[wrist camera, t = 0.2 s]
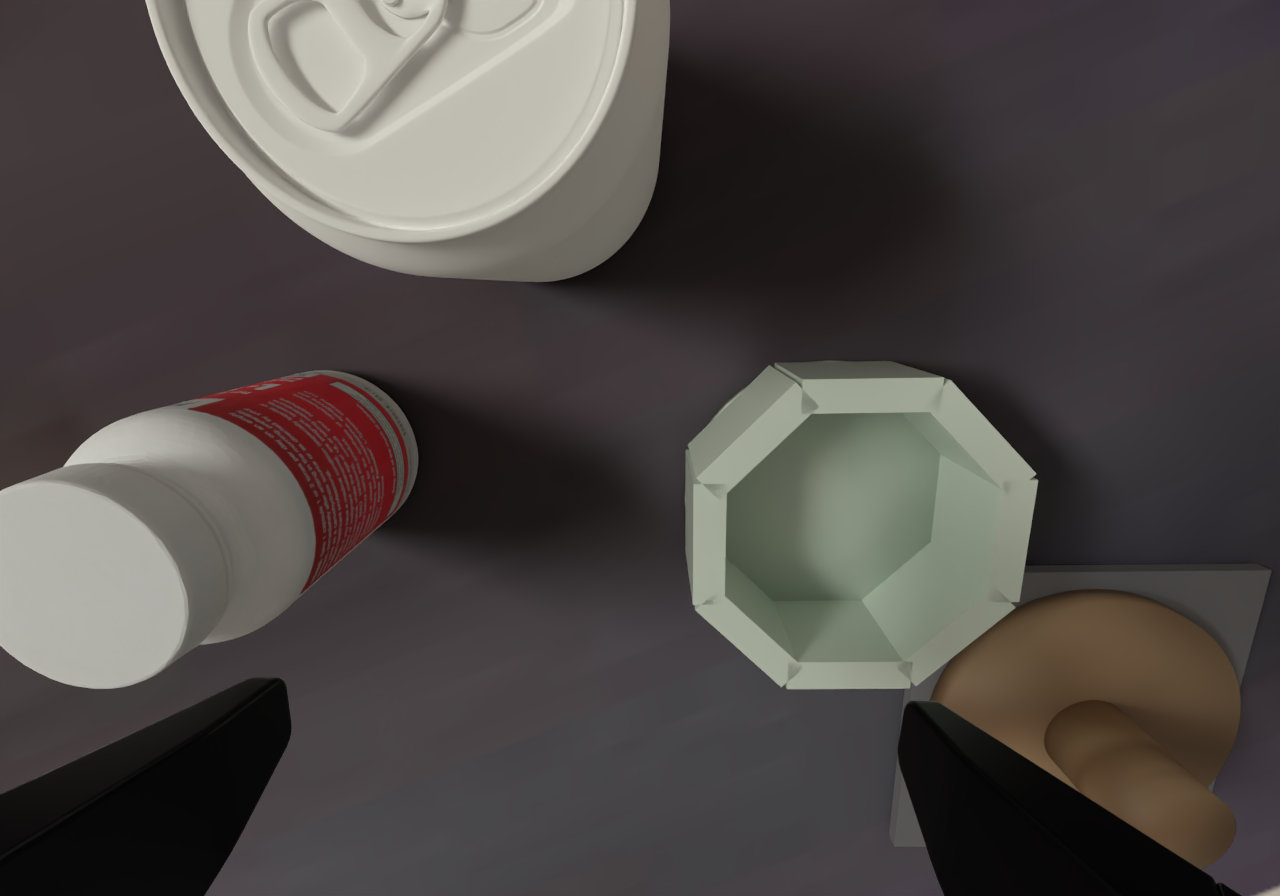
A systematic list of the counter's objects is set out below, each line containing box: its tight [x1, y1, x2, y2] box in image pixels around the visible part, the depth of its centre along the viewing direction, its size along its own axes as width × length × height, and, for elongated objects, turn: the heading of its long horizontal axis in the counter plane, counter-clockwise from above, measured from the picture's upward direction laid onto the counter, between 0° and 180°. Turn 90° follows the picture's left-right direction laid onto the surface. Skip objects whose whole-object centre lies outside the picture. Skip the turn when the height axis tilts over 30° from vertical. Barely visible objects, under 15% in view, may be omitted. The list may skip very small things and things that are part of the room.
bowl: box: [685, 360, 1038, 689], centre depth 21 cm, size 10×10×5 cm
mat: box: [889, 563, 1272, 847], centre depth 25 cm, size 13×13×1 cm
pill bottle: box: [0, 370, 418, 689], centre depth 18 cm, size 6×6×11 cm
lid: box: [930, 589, 1241, 870], centre depth 22 cm, size 12×12×6 cm
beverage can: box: [146, 0, 670, 282], centre depth 14 cm, size 8×8×12 cm
